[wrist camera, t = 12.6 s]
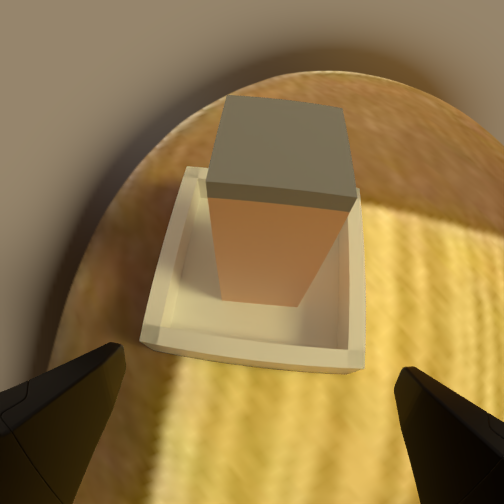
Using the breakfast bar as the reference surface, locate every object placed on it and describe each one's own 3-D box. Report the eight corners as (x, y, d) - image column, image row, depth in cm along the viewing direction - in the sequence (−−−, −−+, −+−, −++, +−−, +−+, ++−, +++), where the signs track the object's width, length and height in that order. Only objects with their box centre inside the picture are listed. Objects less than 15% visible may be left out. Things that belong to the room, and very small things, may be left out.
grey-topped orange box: (297, 307, 19) (357, 197, 9) (221, 300, 19) (205, 181, 9) (299, 241, 21) (342, 108, 11) (230, 234, 21) (227, 95, 11)
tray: (346, 374, 18) (364, 368, 15) (153, 350, 18) (139, 340, 15) (347, 212, 23) (359, 188, 21) (191, 192, 24) (186, 166, 21)
